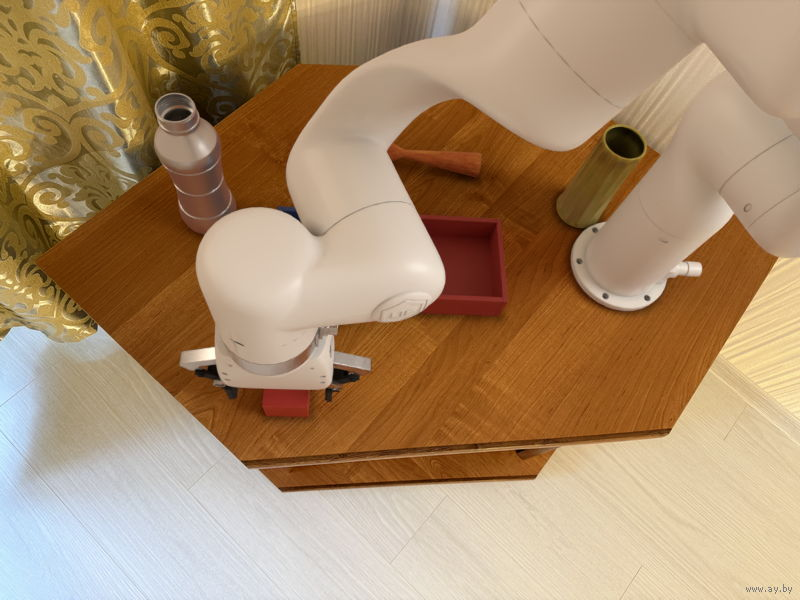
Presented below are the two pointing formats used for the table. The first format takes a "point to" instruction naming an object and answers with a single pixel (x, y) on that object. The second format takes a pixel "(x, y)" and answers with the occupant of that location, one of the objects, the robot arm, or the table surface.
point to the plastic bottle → (192, 162)
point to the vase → (601, 175)
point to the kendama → (441, 159)
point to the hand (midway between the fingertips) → (282, 386)
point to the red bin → (469, 265)
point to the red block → (286, 402)
